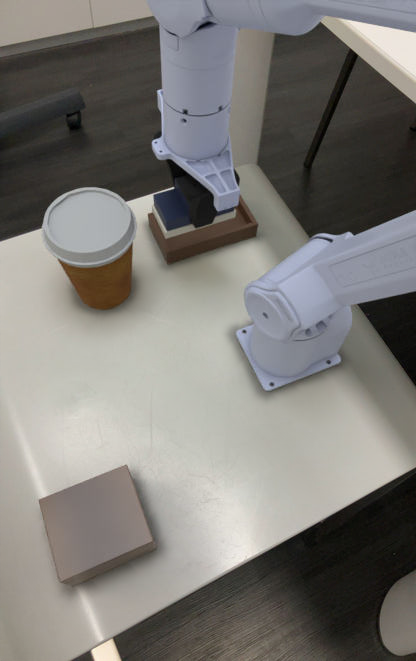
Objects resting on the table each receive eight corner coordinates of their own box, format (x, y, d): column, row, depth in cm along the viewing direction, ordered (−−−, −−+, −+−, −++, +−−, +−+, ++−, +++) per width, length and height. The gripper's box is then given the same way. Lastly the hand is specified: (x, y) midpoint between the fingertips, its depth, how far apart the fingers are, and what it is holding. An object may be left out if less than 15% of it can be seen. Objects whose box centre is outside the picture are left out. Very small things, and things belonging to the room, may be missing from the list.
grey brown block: (132, 477, 50) (126, 463, 46) (157, 548, 47) (153, 541, 43) (51, 510, 49) (38, 499, 44) (71, 586, 45) (59, 582, 41)
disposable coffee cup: (130, 246, 64) (118, 174, 54) (155, 306, 60) (148, 240, 50) (55, 269, 62) (28, 198, 52) (76, 332, 58) (51, 269, 48)
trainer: (220, 191, 57) (223, 156, 52) (235, 217, 55) (240, 183, 50) (151, 211, 55) (149, 176, 50) (165, 239, 53) (164, 206, 49)
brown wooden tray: (234, 200, 69) (236, 187, 67) (256, 236, 66) (258, 224, 64) (148, 225, 66) (147, 213, 64) (167, 264, 63) (166, 252, 61)
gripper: (121, 52, 44) (135, 171, 56) (185, 165, 38) (185, 271, 50) (197, 36, 46) (194, 154, 58) (270, 141, 40) (250, 250, 52)
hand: (194, 208), depth 54 cm, fingers closed on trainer, 4 cm apart
